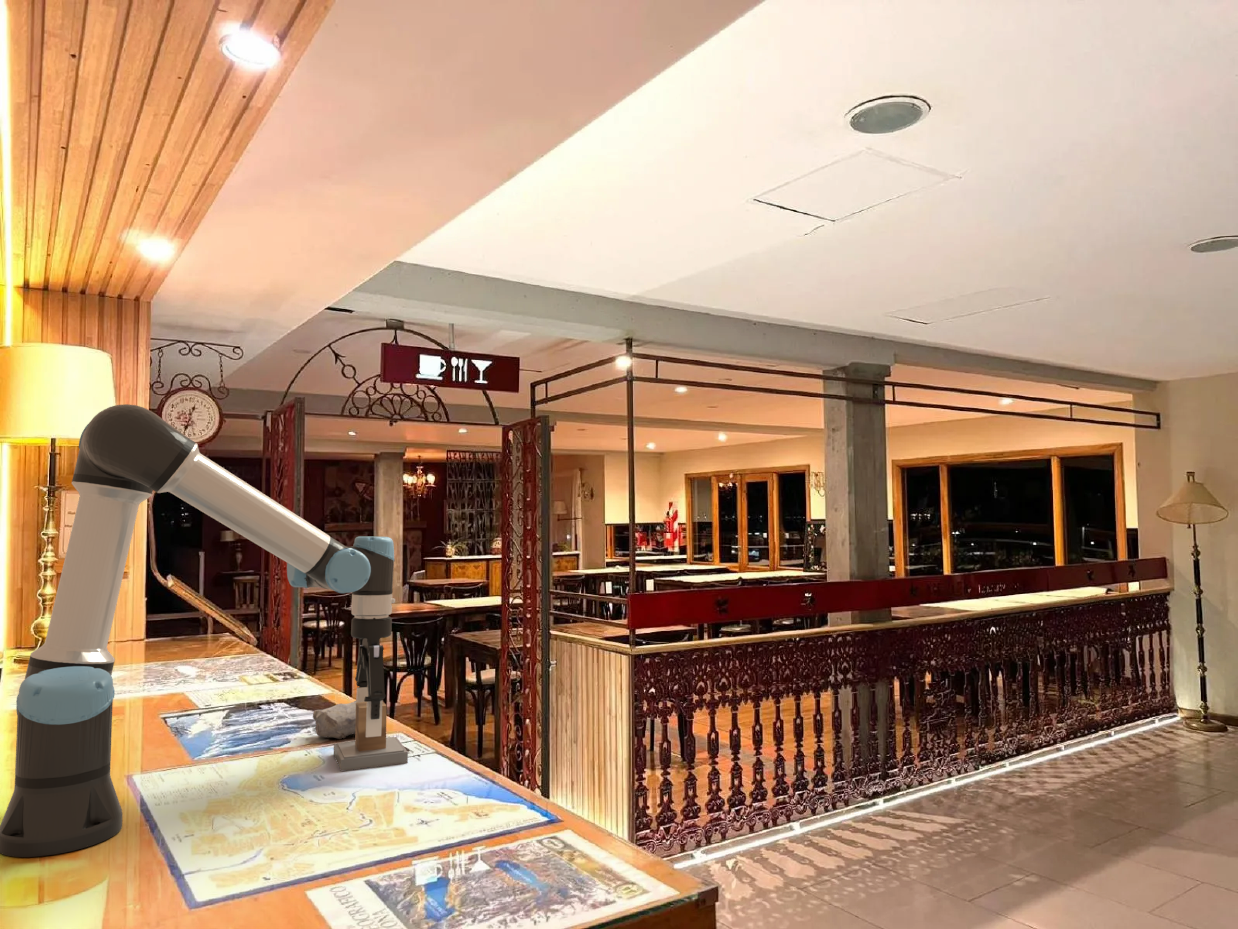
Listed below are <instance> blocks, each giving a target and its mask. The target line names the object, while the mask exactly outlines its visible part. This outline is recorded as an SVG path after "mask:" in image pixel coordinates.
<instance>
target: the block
mask: <svg viewBox="0 0 1238 929" xmlns="http://www.w3.org/2000/svg"><path fill="white" fill-rule="evenodd" d="M387 710H388V709H387V704H386V703H385V701H384V700H383V701H382V730H381V736H376V737H366V711H367V702H359V703H356V727H355V734H354V736H355V738H354V741H355V745H356V747H357V749H358V751H366V750H375V749H383V748H386V738H387Z"/></svg>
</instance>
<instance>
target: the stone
mask: <svg viewBox="0 0 1238 929" xmlns="http://www.w3.org/2000/svg"><path fill="white" fill-rule="evenodd" d="M312 719H313V721H314V723H315V728H314V729H315V734H316V735H317V736H318V737H322V738H334V739H338V740H342V738H343V739H345V738H347V737H349V736H350V735H351V736H352V735H355V727H356V700H354V701H352V702H349V703H337V704H335V705H333V706H330V707H327V708H324V709H316V710H313V713H312ZM346 736H347V737H346Z"/></svg>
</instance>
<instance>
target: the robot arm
mask: <svg viewBox="0 0 1238 929" xmlns="http://www.w3.org/2000/svg"><path fill="white" fill-rule="evenodd" d="M82 430H83V431H82V432H81V435H80V438H79V441H78V442H79V443H78V449H79V450H78V454H77V457H76V458H77V460H76V463H75V467H74V471H73V476H72V479H71V485H72V486H73V487H74V489H75V490H76V492H78V495H79V498H78V502H77V506H76V510H75V515H74V519H73V524H72V528H71V531H70V536H69V541H68V544H67V548H66V552H65V557H64V562H63V565H62V569H61V573H60V578H59V582H58V587H57V591H56V595H55V598H54V604H53V607H52V610H51V611H52V612H51V617H50V620H49V625H48V628H47V632H46V636H45V641H44V643H43V645H41V646H40V647H38V648H37V649H35V650H33V651H31V653H30V657H29V658H28V665H27V668H26V672H25V677H24V679H23V681H22V682H21V683H20V686H19V689H18V694H17V696H16V706H15V707H16V708H15V709H16V715H17V719H16V720H17V721H16V741H15V742H16V745H15V747H16V748H15V767H14V768H15V769H14V770H15V771H14V775H15V776H14V787H13V789H14V790H13V793H12V794H11V795H12V796H11V797H10V801H9V803H8V804H7V805H8V806H7V807H6V810H5V813H4V815H3V817H2V820H1V822H0V854H2V855H3V856H8V857H14V858H33V857H35V858H36V857H44V856H53V855H59V854H64V853H69V852H73V851H78V850H81V849H85V848H88V847H91V846H94V845H97V844H100V843H102V842H105V841H106V840H109V839H111V838H113V837H114V836H116V835H117V834H118V833H119V832H120V831H121V830H122V828H123V809H122V807H121V804H120V800H119V797H118V795H117V792H116V788H115V786H114V783H113V780H112V777H111V776H112V775H111V763H112V762H111V761H112V734H113V733H112V731H113V726H112V725H113V703H114V698H115V694H116V693H115V687H114V679H113V677H112V674H113V669H114V664H115V660H116V659H115V657H114V656H113V654H112V653H111V652H110V651H109V649H108V644H109V639H110V635H111V630H112V626H113V621H114V617H115V614H116V608H117V605H118V604H117V603H118V599H119V594H120V591H121V590H120V589H121V588H122V587H121V586H122V582H123V578H124V573H125V568H126V566H127V565H126V564H127V560H128V555H129V551H130V546H131V542H132V539H133V538H132V537H133V533H134V529H135V524H136V519H137V515H138V511H139V507H140V505H141V504H142V502H144V501H146V500H148V499H149V498H151V497H152V495H153V491H154V492H156V493H157V494H161V493H167V492H168V493H170V494H172V495H174V496H175V497H177V498H179V499H181V500H182V501H183V502H185V503H187V504H189V506H192V507H194V508H195V509H197V510H199V511H200V512H202V513H204V514H205V515H207V516H208V517H210V518H212V519H214V520H215V521H217V522H218V523H221V524H222V525H224V526H225V527H227V528H229V529H230V530H231V531H234V532H235V533H237V534H239V535H241V536H242V537H244V538H245V539H247V540H249V541H250V542H252V543H254V544H255V545H257V546H259V547H261V548H262V549H263V550H265V551H267V552H269V553H270V554H272V555H274V556H275V557H277V558H279V559H280V560H282V561H284V562H286V575H287V580H288V582H289V585H290V586H291V587H293V588H305V589H309V588H321V589H325V590H330V591H334V592H336V593H337V594H338V593H339V594H348V593H351V612H350V613H351V615H352V616H354V617H352V619H351V621H350V622H351V626H350V627H351V628H350V629H351V630H350V635H351V637H352V638H353V639H358V642H359V644H358V656H357V662H356V672H355V673H356V674H355V677H354V678H355V679H354V680H355V682H356V686H357V687H356V697H355V699H356V700H355V701H356V703H359V702H367V711H366V737H376V736H381V730H382V701H383V702H384V700H385V698H386V694H385V670H384V650H385V647H384V645H382V644H381V645H380V639H381V638H382V639H385V638H389V637H390V636H391V635H392V624H393V619H392V617H391V616H389V615H391V614H392V613H393V605H392V604H395V603H396V598H394V597H393V589H394V588H393V586H394V569H395V568H394V566H395V548H394V547H395V546H394V545H395V544H394V540H393V539H392V538H391V537H389V536H356V537H355V538H354V541H353V546H352V545H351V546H346V545H344V544H343V543H341V542H340V541H338V540H336V539H335V538H334V537H331V536H330V535H329V534H328V533H326V532H324V531H322V530H321V529H319V528H318V527H317V526H315V525H313V524H311V523H310V522H309V521H307V520H305V519H304V518H302V517H301V516H299V515H297V514H296V513H294V512H293V511H291V510H290V509H288V508H287V507H285V506H283V505H282V504H280V503H279V502H277V501H276V500H274V499H273V498H272V497H269V496H268V495H266V494H264V492H262V491H260V490H258V489H257V488H256V487H254V486H252V485H250V484H249V483H247V481H244V480H243V479H242V478H239V477H238V476H237V475H235V474H233V473H231V472H230V471H229V470H227V469H225V468H224V467H222V466H221V465H219V464H218V463H216V462H215V461H213V460H211V459H210V458H209V457H207V456H205V455H204V454H202V453H201V452H200V449H199V445H198V443H197V442H196V441H195V440H193V439H191V438H190V437H188V436H187V435H185V434H183V433H182V432H181V431H180V430H178V429H176V428H175V427H174V426H172V425H171V424H169V423H168V422H167V421H166V420H164V419H163V418H162V417H160V416H159V415H157V414H156V413H155V412H153V411H152V410H150V409H148V408H145V407H143V406H140V405H136V404H117V405H112V406H109V407H107V408H105V409H103V410H101V411H99V412H98V413H96V414H95V415H94V416H93V418H92V419H91V420H90V421H89V422H88V423H87V424H86V426H85V427H84V429H82Z"/></svg>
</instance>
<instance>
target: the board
mask: <svg viewBox="0 0 1238 929" xmlns="http://www.w3.org/2000/svg"><path fill="white" fill-rule="evenodd" d="M408 754H409V753H408V751H407V749H406V747H405V746H404V745H403V744H402V742H401V741H400V740H399V739H398V737H397V736H390V737H387V736H386V748H383V749H375V750H366V751H358V749H357V747H356V745H355V740H353V741H352V740H350V741H344V742H343V741H342V742H337V743H333V756H334V758H336V759H335V761H336V760H337V761H336V763H337V762H338V763H337V765H338V764H339V766H338V768H339V767H340V768H339V770H340V769H341V770H346V771H352V770H353V769H354V770H360V768H362V769H368V768H367V767H370V768H378V767H385V766H393V765H401V764H408V763H409V762H408V760H409V759H408V758H409V755H408ZM341 770H340V771H341ZM354 770H353V771H354Z"/></svg>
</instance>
